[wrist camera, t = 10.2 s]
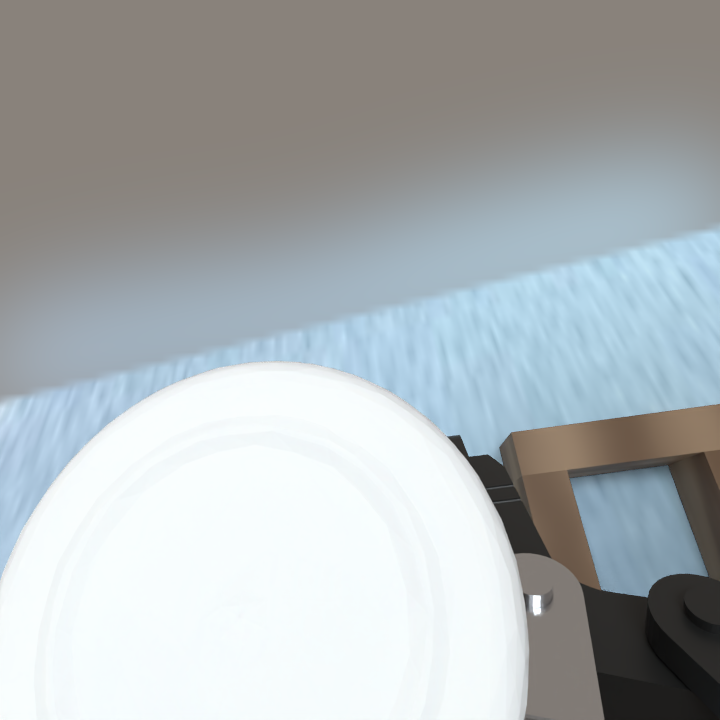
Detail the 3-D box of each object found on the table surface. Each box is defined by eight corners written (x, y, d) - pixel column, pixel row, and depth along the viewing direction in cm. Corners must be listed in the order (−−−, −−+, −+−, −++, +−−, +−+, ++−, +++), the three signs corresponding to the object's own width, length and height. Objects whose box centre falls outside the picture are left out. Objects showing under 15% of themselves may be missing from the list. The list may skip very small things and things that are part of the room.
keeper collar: (693, 421, 27) (731, 402, 24) (782, 642, 23) (844, 656, 20) (499, 447, 28) (511, 432, 24) (551, 669, 23) (574, 686, 20)
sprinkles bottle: (274, 574, 16) (-144, 604, 4) (369, 478, 17) (270, 261, 5) (369, 691, 15) (164, 1343, 2) (467, 577, 16) (681, 625, 3)
